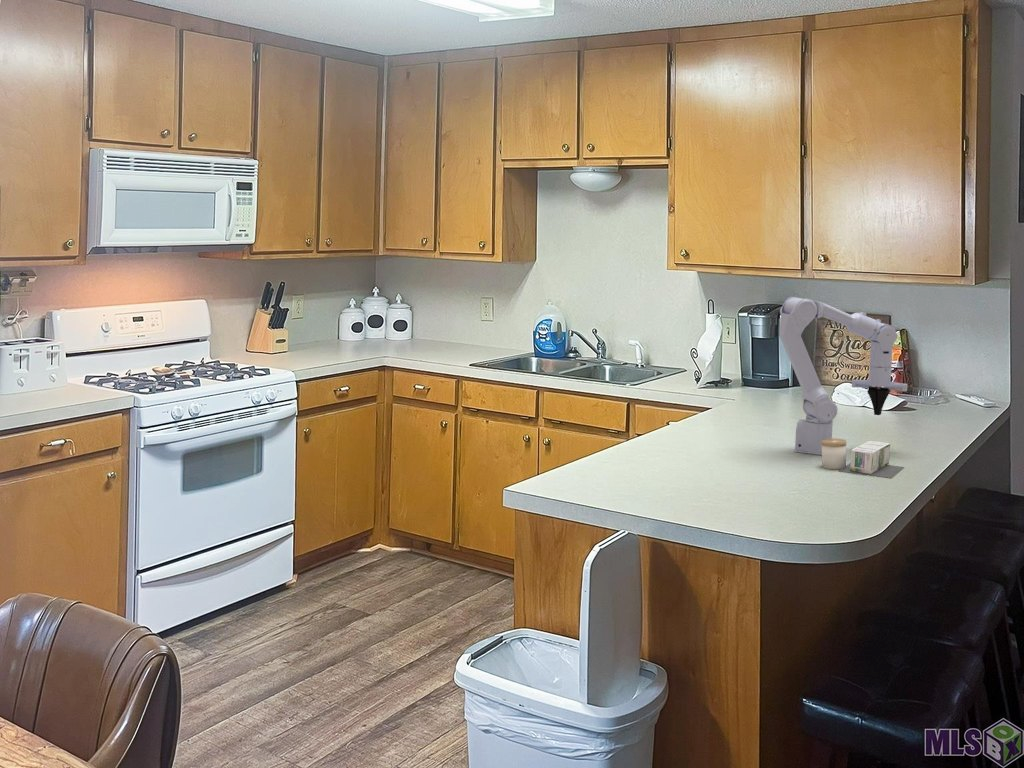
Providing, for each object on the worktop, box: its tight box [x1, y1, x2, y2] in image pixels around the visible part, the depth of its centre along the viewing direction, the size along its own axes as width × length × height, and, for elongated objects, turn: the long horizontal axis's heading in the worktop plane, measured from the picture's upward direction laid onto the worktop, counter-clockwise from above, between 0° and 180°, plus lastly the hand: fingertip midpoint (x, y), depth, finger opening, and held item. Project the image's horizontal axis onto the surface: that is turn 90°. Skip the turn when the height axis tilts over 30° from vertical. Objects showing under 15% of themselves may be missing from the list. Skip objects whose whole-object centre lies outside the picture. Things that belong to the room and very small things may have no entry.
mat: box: [838, 462, 905, 479], centre depth 256 cm, size 13×14×1 cm
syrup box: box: [850, 440, 891, 474], centre depth 257 cm, size 6×6×14 cm
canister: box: [821, 437, 847, 470], centre depth 258 cm, size 6×6×7 cm
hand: (877, 414), depth 277 cm, fingers closed
